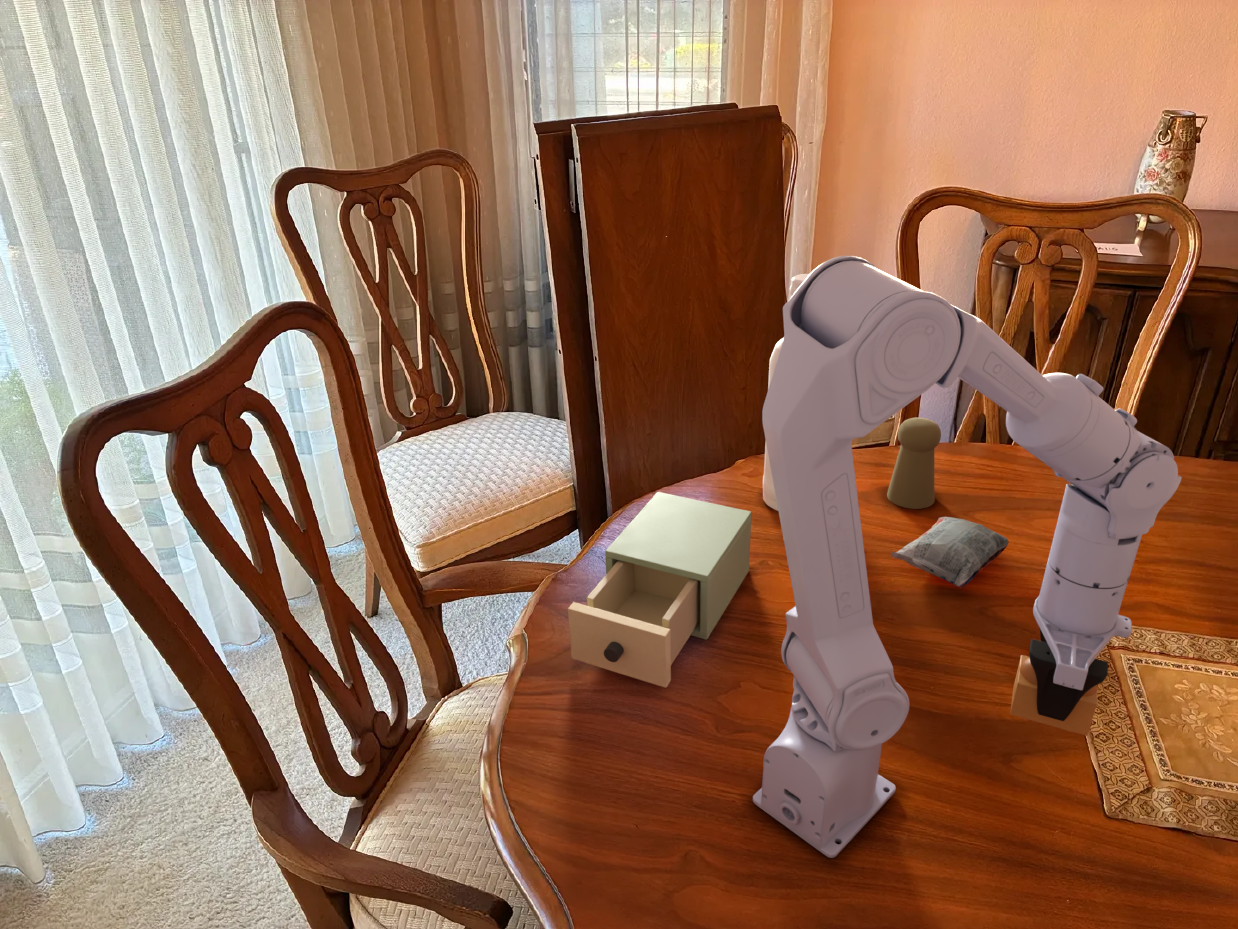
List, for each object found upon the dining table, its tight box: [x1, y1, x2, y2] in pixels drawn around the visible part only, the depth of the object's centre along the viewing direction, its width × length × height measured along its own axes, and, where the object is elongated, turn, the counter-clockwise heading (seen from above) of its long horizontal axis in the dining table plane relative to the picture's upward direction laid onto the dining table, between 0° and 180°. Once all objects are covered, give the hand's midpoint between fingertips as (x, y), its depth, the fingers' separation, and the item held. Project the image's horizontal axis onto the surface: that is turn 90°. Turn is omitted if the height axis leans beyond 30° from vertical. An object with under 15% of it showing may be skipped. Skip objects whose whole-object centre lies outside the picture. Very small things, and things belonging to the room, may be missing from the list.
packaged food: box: [891, 516, 1010, 588], centre depth 98 cm, size 9×12×5 cm
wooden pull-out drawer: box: [567, 560, 701, 689], centre depth 87 cm, size 14×10×6 cm
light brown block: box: [1009, 654, 1098, 737], centre depth 73 cm, size 6×4×5 cm, turn 64°
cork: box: [886, 417, 942, 510], centre depth 111 cm, size 6×6×11 cm
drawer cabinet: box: [604, 491, 752, 640], centre depth 95 cm, size 14×12×8 cm
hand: (1052, 698), depth 74 cm, fingers closed on light brown block, 4 cm apart
